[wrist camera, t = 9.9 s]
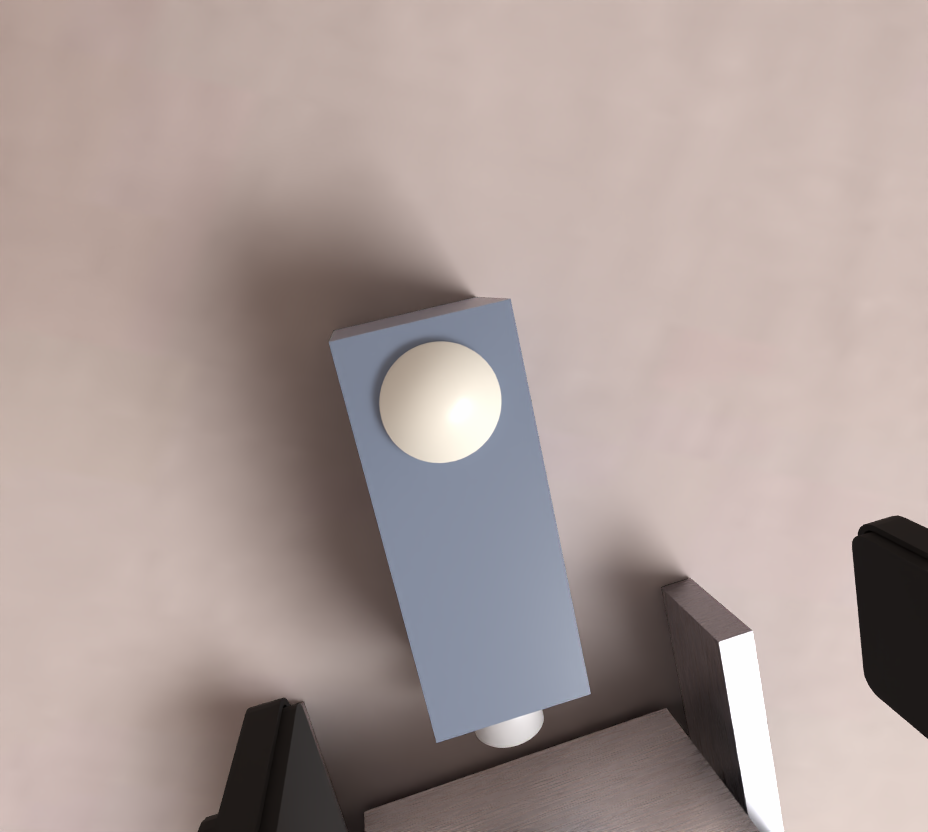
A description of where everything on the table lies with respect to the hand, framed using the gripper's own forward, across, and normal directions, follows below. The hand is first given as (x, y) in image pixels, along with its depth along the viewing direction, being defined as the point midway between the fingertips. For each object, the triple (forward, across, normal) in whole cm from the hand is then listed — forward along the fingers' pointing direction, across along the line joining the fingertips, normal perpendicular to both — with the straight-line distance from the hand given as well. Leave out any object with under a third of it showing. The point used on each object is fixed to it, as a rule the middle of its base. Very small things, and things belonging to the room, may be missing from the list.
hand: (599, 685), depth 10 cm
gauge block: (+13, +1, +1) cm, 13 cm away
